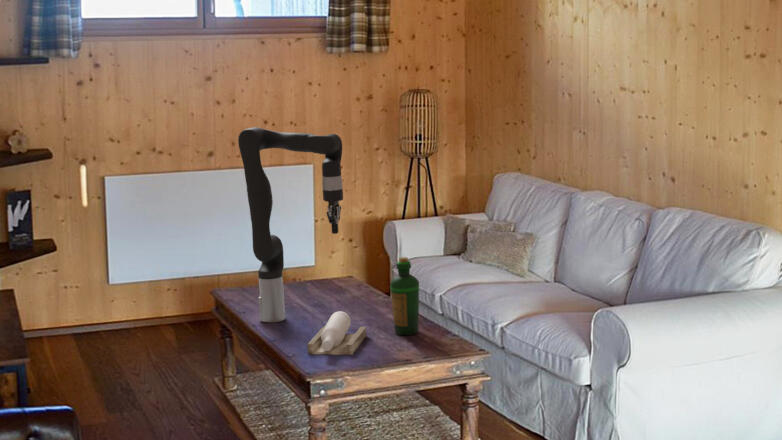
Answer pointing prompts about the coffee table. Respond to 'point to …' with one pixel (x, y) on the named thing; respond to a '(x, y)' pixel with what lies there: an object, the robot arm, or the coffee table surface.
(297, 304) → the coffee table surface
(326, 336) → the bottle
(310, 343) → the cradle
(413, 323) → the bottle
